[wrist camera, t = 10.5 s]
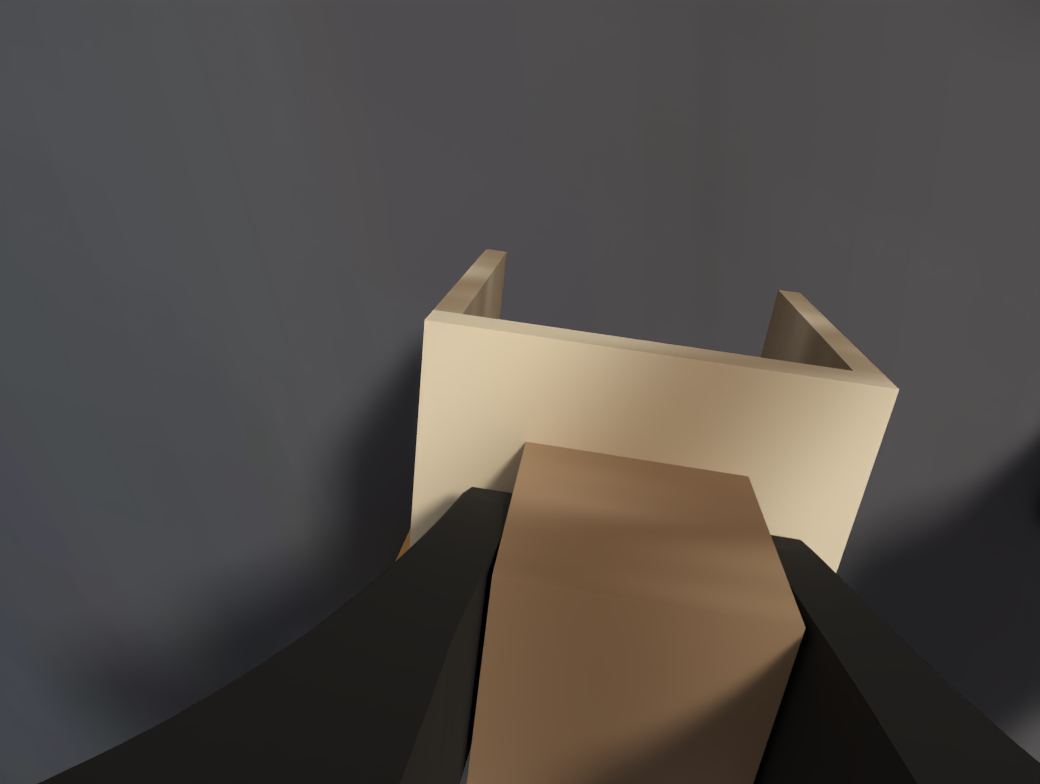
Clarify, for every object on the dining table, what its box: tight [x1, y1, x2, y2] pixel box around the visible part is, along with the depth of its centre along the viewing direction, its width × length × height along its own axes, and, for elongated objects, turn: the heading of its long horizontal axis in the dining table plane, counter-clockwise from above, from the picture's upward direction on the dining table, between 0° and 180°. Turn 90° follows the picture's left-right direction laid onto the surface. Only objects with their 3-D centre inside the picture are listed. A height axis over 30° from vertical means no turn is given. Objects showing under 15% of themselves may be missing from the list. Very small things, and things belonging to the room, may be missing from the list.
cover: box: [409, 249, 899, 784], centre depth 11 cm, size 6×6×8 cm
